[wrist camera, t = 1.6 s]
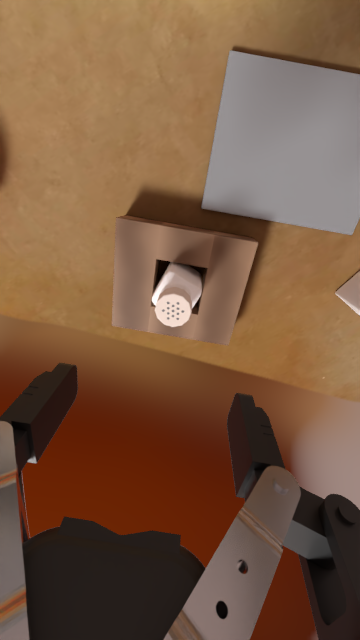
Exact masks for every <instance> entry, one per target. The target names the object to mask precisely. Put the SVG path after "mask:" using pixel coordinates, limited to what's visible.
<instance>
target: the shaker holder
mask: <svg viewBox="0 0 360 640" xmlns="http://www.w3.org/2000/svg"><path fill="white" fill-rule="evenodd" d="M257 246H258V242H257V241H256V240H254V239H253V238H252V237H246V236H241V235H235V234H229V233H224V232H218V231H212V230H207V229H201V228H195V227H190V226H184V225H178V224H173V223H167V222H161V221H156V220H150V219H144V218H139V217H133V216H127V215H124V216H120V217H116V232H115V258H114V284H113V310H112V326H116V327H122V328H128V329H134V330H140V331H146V332H151V333H157V334H163V335H169V336H175V337H181V338H187V339H193V340H198V341H204V342H210V343H216V344H222V345H229V342H230V338H231V335H232V331H233V328H234V325H235V321H236V318H237V314H238V311H239V307H240V304H241V301H242V297H243V294H244V290H245V287H246V284H247V280H248V277H249V273H250V270H251V266H252V263H253V260H254V256H255V253H256V249H257ZM160 260H164V261H170V262H176V263H181V264H187V265H193V266H199V267H204V268H205V271H204V276H203V281H202V292H201V296H200V297H199V300H198V303H196V304H195V305H194V307H193V308H192V312H191V315H190V318H189V320H188V321H187V322H186V323H184V324H183V325H182V326H176V327H171V326H167V325H164V324H163V323H162V322H161V321H160V320H159V319H158V318H157V316H156V312H155V307H156V306H155V305H154V303H153V302H152V296H153V294H154V292H155V290H156V287H157V279H158V271H159V262H160Z"/></svg>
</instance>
